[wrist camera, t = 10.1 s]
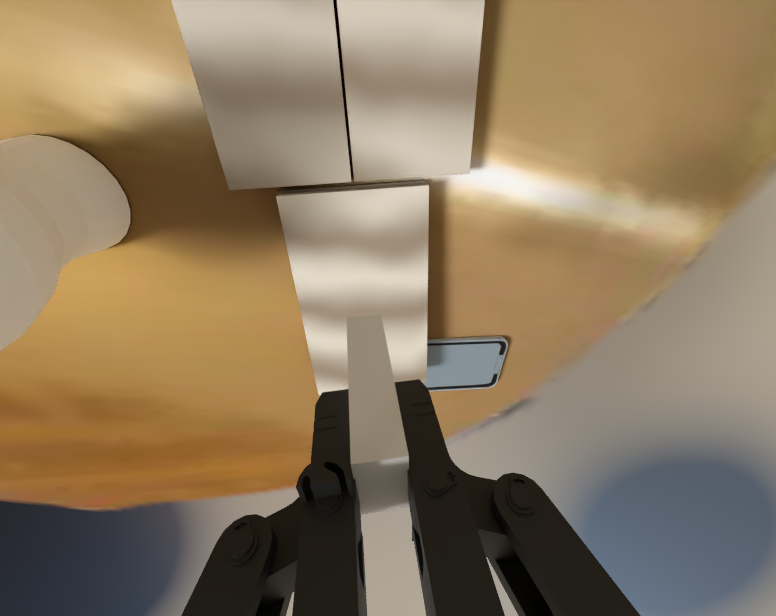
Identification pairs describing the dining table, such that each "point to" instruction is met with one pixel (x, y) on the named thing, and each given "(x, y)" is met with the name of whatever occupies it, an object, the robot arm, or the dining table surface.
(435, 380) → the smartphone
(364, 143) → the laid floor
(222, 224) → the dining table surface
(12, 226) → the cup
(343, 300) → the silvery beige flat slab
